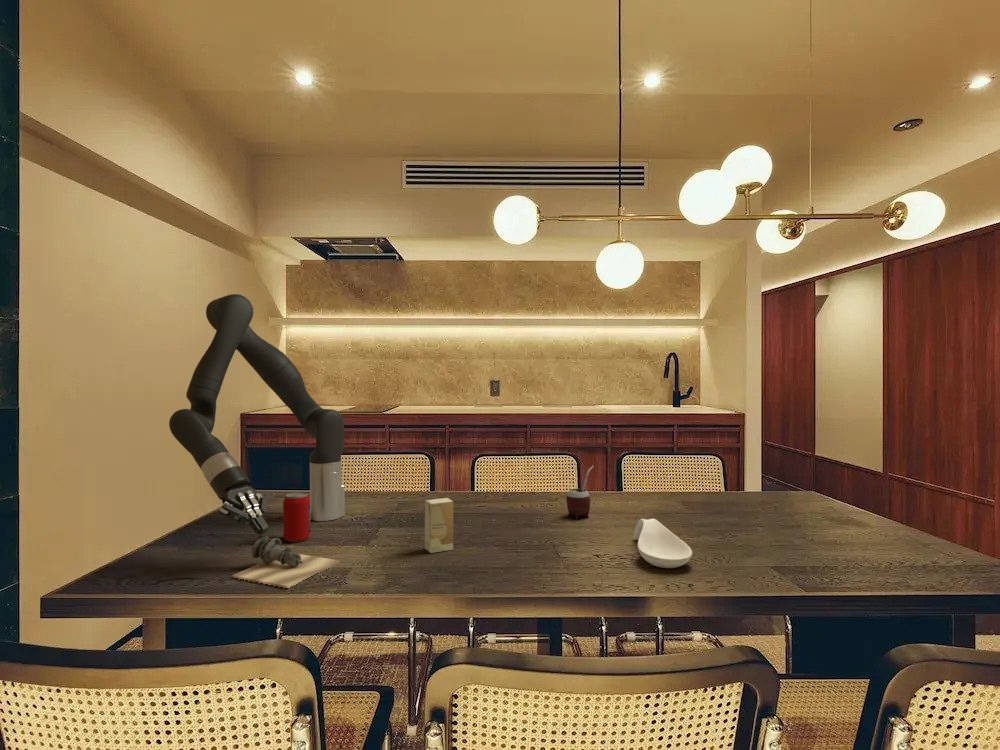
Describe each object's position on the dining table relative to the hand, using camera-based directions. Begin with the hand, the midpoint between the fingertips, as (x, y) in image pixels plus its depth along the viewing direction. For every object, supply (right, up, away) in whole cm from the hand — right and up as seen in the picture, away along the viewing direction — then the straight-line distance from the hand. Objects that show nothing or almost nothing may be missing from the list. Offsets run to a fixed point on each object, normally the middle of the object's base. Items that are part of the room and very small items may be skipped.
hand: (263, 532), depth 124 cm
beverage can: (0, -8, +20) cm, 21 cm away
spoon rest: (+92, -7, +4) cm, 92 cm away
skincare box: (+39, -7, +10) cm, 41 cm away
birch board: (+7, -8, -3) cm, 11 cm away
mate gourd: (+78, -7, +38) cm, 87 cm away
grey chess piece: (-1, -4, +1) cm, 4 cm away
